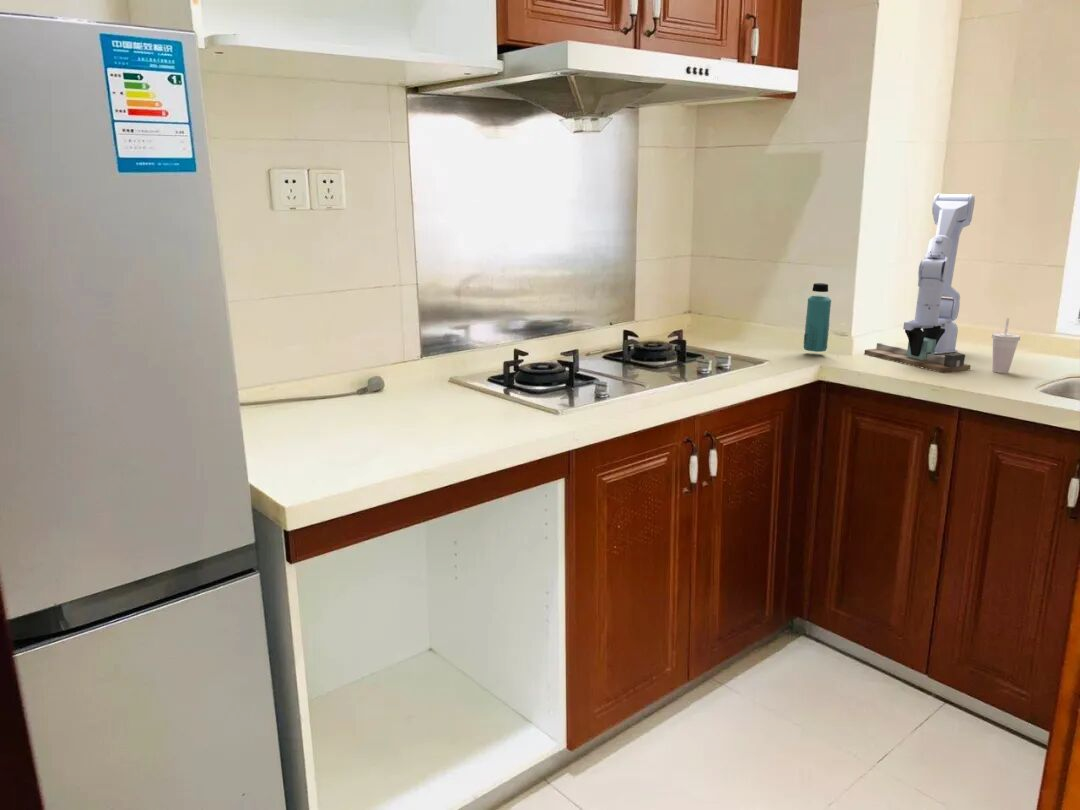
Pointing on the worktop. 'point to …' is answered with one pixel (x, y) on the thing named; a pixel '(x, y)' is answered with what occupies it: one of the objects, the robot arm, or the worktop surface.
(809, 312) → the beverage bottle
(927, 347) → the block
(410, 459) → the worktop surface
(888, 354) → the track
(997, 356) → the smoothie
